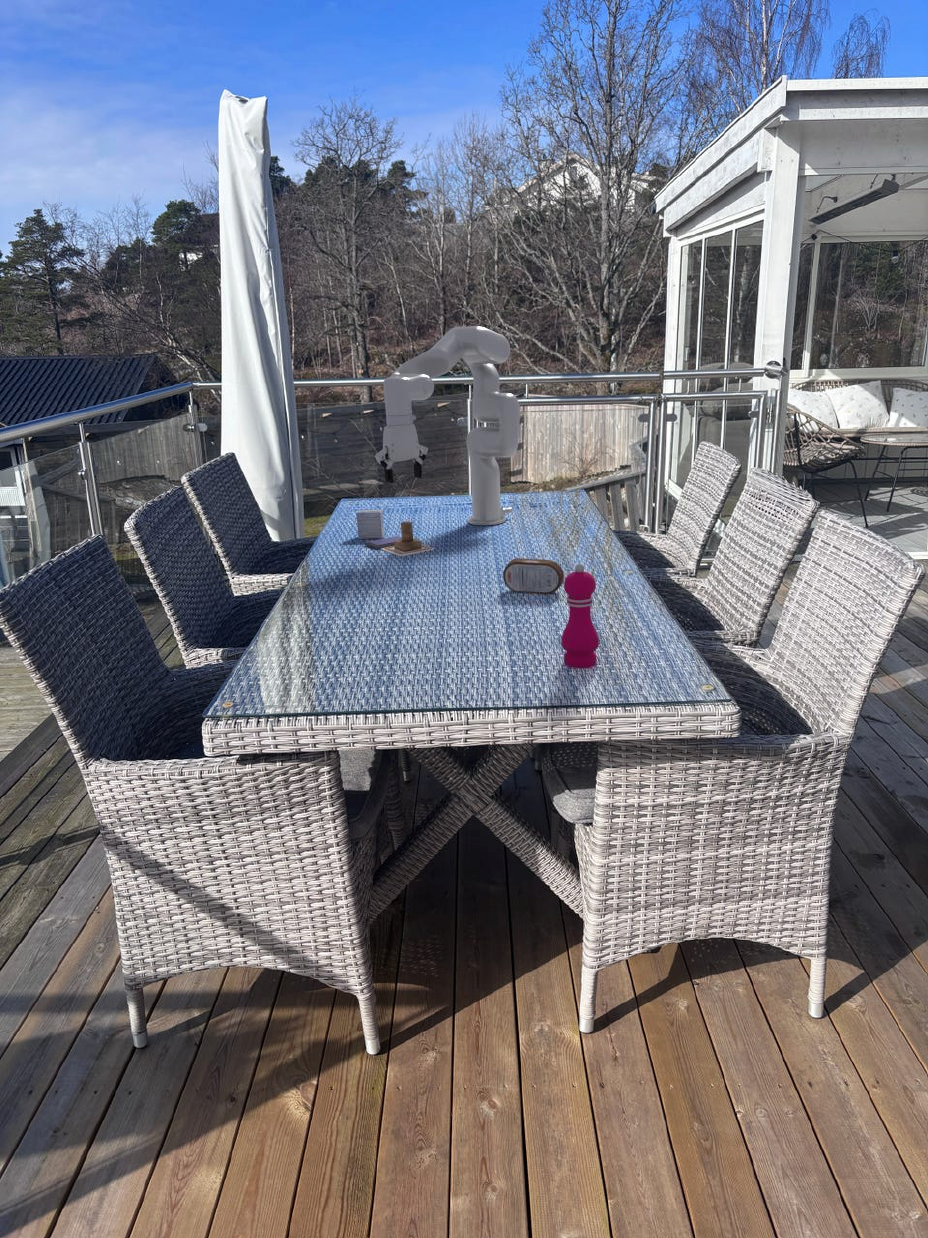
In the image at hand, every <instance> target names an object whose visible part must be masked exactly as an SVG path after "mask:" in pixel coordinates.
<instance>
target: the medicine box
mask: <svg viewBox="0 0 928 1238" xmlns="http://www.w3.org/2000/svg"><path fill="white" fill-rule="evenodd" d="M355 514H356V525H357V526H356V528H357V537H358V539H359V540H360V539H361V540H368V539H369V540H371V539H384V537H385V536H386V535H385V533H386V531H385V525H384V523H385V522H384V510H383V509H360V510H358V511H357V512H356V513H355Z"/></svg>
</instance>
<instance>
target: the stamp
mask: <svg viewBox="0 0 928 1238" xmlns="http://www.w3.org/2000/svg"><path fill="white" fill-rule="evenodd" d="M400 532H401V537H402V539H401V540H396V541H394V547H395V549H397V550H400V551H403V552H407V551H412V550H417V549H422V545H423V544H422V540H420V539H416V538H414V529H413V521H411V520H409V521H406V520H405V521H400Z"/></svg>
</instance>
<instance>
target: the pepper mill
mask: <svg viewBox="0 0 928 1238" xmlns="http://www.w3.org/2000/svg"><path fill="white" fill-rule="evenodd" d="M574 569H575V570H574V571H573V572H571V573H569V574H568V575H566V577H565V578H564V580H563V588H564V592H566V594H567V596H566V605H567V606H569V607H568V608H569V617H568V620H567V623H566V624H565V628H564V629H563V632H562V636H561V640H560V641H561V646H562V649H564V651H565V653H564V654H563V664H564V663H565V664H564V665H565V666H566V665H567V666H566V667H568V666H569V667H568V668H571V667H573V668H572V669H578V668H583V669H588V668H592V667H594V666H595V665H596V664H597V654H596V650H597V649H598V648H599V645H600V638H599V634H598V632H597V630H596V628H595V626H594V623H593V620H592V616H591V609H592V608H591V607H592V605H593V604H594V601H593V600H594V596H593V593H594V592H595V591H596V586H597V584H596V583H597V582H596V579H595V577H594V576H593V575H592V573H589V572H588V571H585V566H584V564H582V563H577V564H576V565H575V568H574Z"/></svg>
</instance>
